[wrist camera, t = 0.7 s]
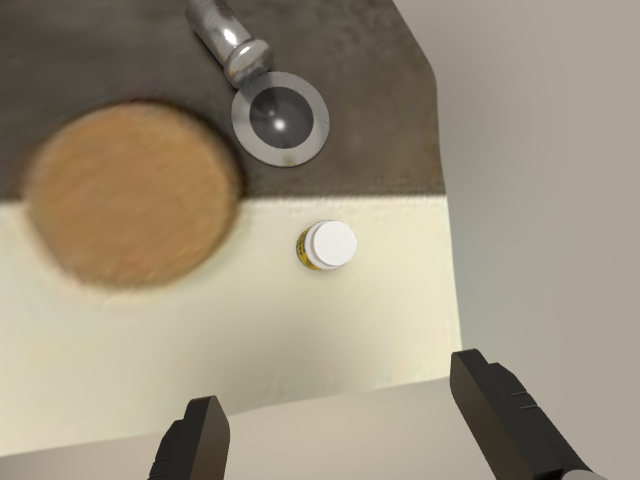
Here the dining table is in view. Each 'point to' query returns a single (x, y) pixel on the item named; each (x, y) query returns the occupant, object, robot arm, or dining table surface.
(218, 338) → the dining table surface
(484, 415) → the robot arm
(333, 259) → the supplement bottle
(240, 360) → the dining table surface
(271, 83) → the flange fitting
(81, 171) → the dining table surface
